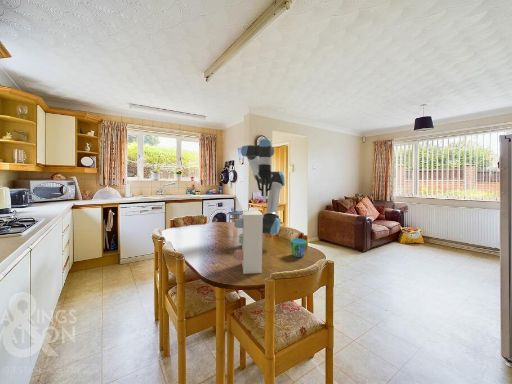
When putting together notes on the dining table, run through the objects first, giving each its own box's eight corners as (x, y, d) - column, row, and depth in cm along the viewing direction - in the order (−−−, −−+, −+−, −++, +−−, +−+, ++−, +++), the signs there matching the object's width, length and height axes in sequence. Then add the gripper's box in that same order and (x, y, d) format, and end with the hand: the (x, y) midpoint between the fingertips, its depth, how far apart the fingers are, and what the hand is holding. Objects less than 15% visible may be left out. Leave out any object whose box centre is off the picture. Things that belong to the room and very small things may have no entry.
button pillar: (258, 262, 135) (259, 210, 133) (261, 272, 122) (262, 214, 119) (242, 263, 134) (242, 210, 132) (243, 273, 120) (244, 214, 118)
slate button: (242, 226, 128) (242, 218, 128) (243, 227, 123) (243, 220, 123) (234, 226, 127) (234, 218, 127) (234, 228, 123) (234, 220, 123)
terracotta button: (242, 256, 129) (242, 249, 129) (243, 259, 125) (243, 252, 124) (234, 257, 129) (234, 249, 128) (234, 260, 124) (234, 252, 124)
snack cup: (299, 260, 140) (299, 244, 139) (284, 256, 146) (285, 241, 146) (310, 254, 152) (311, 239, 151) (296, 250, 158) (297, 236, 158)
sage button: (247, 241, 129) (247, 234, 128) (247, 243, 124) (247, 236, 124) (238, 241, 128) (238, 234, 128) (239, 244, 124) (239, 236, 124)
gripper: (255, 163, 137) (254, 202, 138) (276, 164, 138) (275, 202, 140) (254, 164, 144) (253, 200, 146) (273, 164, 146) (273, 200, 147)
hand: (264, 201), depth 143 cm, fingers closed
